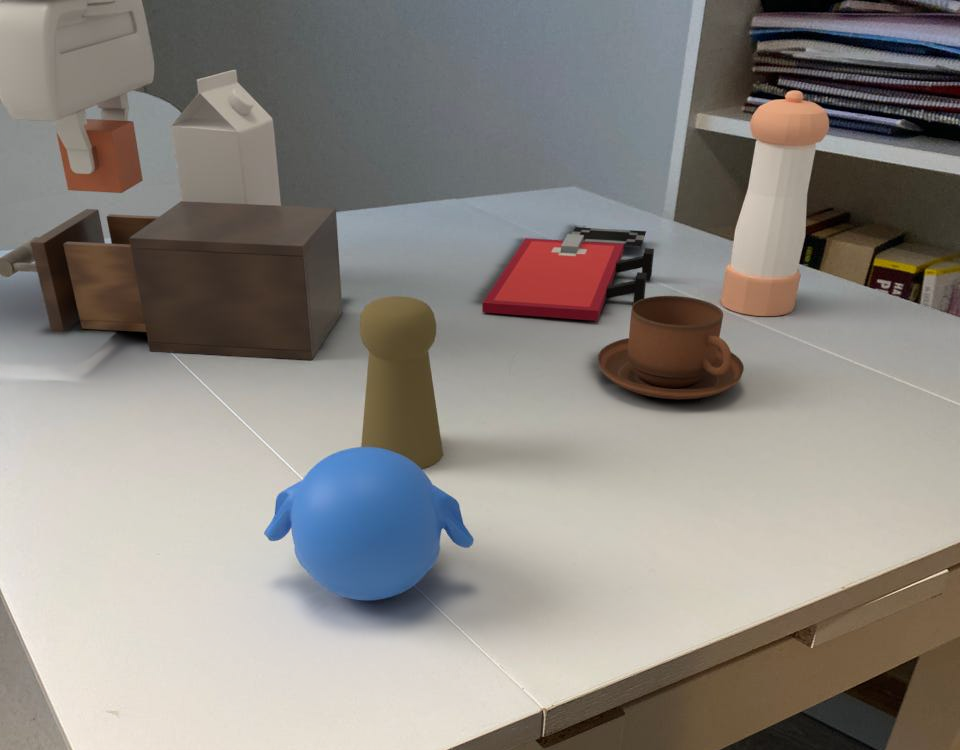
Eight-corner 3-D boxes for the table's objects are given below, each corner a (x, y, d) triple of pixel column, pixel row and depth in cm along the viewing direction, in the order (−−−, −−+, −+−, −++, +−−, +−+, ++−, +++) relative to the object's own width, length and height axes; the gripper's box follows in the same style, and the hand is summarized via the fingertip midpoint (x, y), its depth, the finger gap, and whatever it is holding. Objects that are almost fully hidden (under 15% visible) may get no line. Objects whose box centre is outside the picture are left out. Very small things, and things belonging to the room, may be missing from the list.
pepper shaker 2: (760, 321, 98) (801, 100, 86) (705, 301, 102) (737, 88, 91) (809, 308, 101) (854, 93, 90) (753, 289, 106) (790, 82, 95)
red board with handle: (661, 240, 119) (536, 233, 122) (664, 215, 117) (537, 208, 120) (636, 328, 96) (482, 317, 98) (639, 298, 94) (482, 288, 97)
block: (67, 190, 81) (55, 128, 78) (91, 177, 85) (80, 118, 82) (121, 193, 81) (110, 131, 78) (143, 180, 84) (133, 121, 82)
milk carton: (194, 288, 103) (162, 77, 92) (228, 268, 108) (202, 67, 97) (257, 296, 101) (232, 82, 90) (288, 275, 107) (269, 72, 95)
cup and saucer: (761, 377, 86) (775, 305, 83) (703, 425, 78) (716, 348, 75) (636, 347, 92) (644, 278, 88) (570, 388, 84) (575, 314, 80)
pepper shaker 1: (422, 477, 70) (419, 321, 64) (345, 462, 72) (335, 308, 66) (455, 443, 75) (456, 294, 68) (382, 429, 77) (376, 282, 70)
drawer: (-3, 330, 90) (-27, 239, 85) (54, 290, 99) (34, 206, 94) (199, 341, 88) (186, 249, 84) (238, 300, 98) (227, 215, 93)
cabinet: (149, 351, 89) (128, 238, 83) (196, 305, 99) (180, 201, 93) (312, 360, 88) (302, 246, 82) (342, 312, 98) (335, 208, 92)
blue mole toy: (477, 524, 65) (480, 402, 60) (469, 632, 56) (471, 497, 51) (294, 518, 66) (281, 395, 61) (254, 624, 56) (234, 489, 51)
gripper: (83, -49, 82) (115, 137, 90) (-51, -36, 66) (3, 190, 74) (158, -47, 82) (183, 141, 90) (42, -32, 65) (86, 195, 73)
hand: (101, 164), depth 82 cm, fingers closed on block, 4 cm apart
